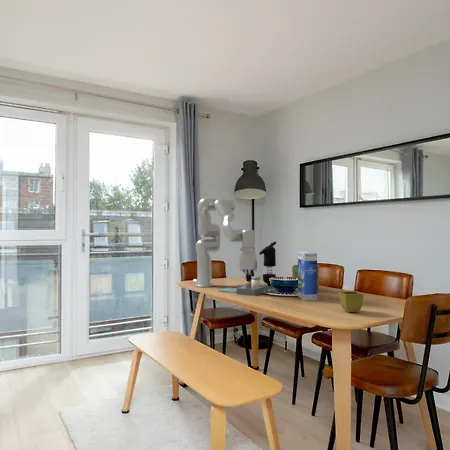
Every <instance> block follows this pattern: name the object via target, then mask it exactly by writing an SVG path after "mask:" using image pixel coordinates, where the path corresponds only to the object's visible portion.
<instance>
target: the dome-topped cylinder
mask: <svg viewBox="0 0 450 450" xmlns="http://www.w3.org/2000/svg"><path fill="white" fill-rule="evenodd" d="M251 281H252V285H251V287H260V285H261V276H252V280H251Z"/></svg>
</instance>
